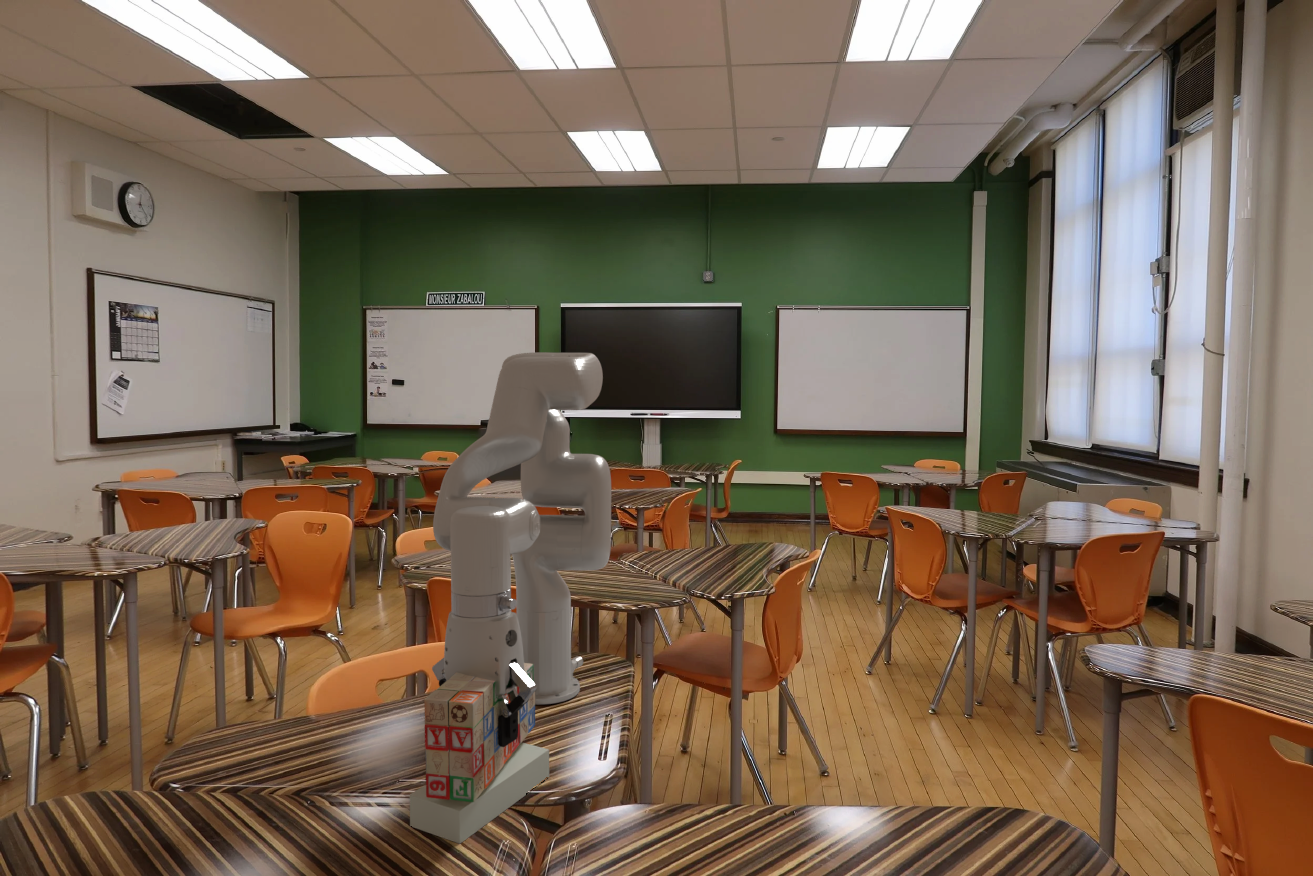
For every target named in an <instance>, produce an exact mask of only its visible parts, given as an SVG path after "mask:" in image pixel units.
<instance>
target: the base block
mask: <svg viewBox="0 0 1313 876" xmlns="http://www.w3.org/2000/svg"><path fill="white" fill-rule="evenodd" d="M546 777H549V778H550V749H549V748H544V747H542V746H541V747H540V746H536V745H534V744H530V743H529V744H528V743H525V742H522V743H520V744H519V745H518V747H517V748H516V749H515V751H514V752H513V753H512V755H511V756H510V757H509V758H508V760H507V761H506V762H505V764H504V766H503V767H502V769H501V770H500V771H499V772H498V774H497V775H496V776H495V777H494V778H493V780H492V781H491V782H490V784H489V785H488V786H487V787H486V788H485V789H484V790H483V791H482V793H481V794H480V795H479V796H478V798H477V799H476V800H475V801H474V802H466V801H457V800H451V799H449V800H446V799H437V798H428V797H426V784H424V785H423V786H421V787H420V788H418V789H416V790H415V791H413V792H412V793H410V794H409V827H411V826H412V828H415V829H416V830H420V831H423V832H425V833H429V834H431V835H434V836H438V837H441V838H442V839H445V840H448V841H451V842H453V843H457V844H462V843H463V842H464V841H465V840H468V838H470V837H471V836H473V835H474V834H475V833H476V832H478V831H479V830H481V829H482V828H484V826H486V825H487V824H489V823H491V822H492V821H493V820H494V819H495V818H496V817H498V816H500V815H501V814H502V813H504V812H505V811H507V810H508V809H509V808H510V807H511V806H513V805H514V804H516V803H517V802H519V800H521V799H522V798H524V797H525V796H526V793H527V792H528V791H530V790H531V789H532V788H533V787H534V786H536V785H537V784H539V783H540V782H541V781H542V780H544V779H545V778H546Z"/></svg>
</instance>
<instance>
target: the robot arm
mask: <svg viewBox="0 0 1313 876" xmlns="http://www.w3.org/2000/svg"><path fill="white" fill-rule="evenodd" d="M603 375H604V374H603V368H602V364H601V362H600V360H599V358H598V357H597V356H596V355H595V354H594V353H592V352H545V351H544V352H523V353H521V352H520V353H517V354H512V355H510V356H508V357H507V358H505V359H504V360H503V362H502V365H501V369H500V371H499V374H498V376H497V377H498V378H497V383H496V387H495V391H494V396H493V400H492V405H491V410H490V413H489V414H490V415H489V418H488V422H487V427H486V431H485V433H484V434H483V436H480V438H478V439H476V441H474V442H473V443H471V444H470V445H469V446H468V447H466V448H465V449H464V450H463V451H462V452H461V453H460V454H459V455H458V456H457V458H455V460H454V461H453V462H452V463H451V464H450V466H449V467H448V468H447V471H446V472H445V473H444V477H443V479H442V482H441V484H440V485H441V486H440V490H439V493H438V497H437V500H436V504H435V509H434V514H433V515H434V516H433V520H432V521H433V523H432V529H433V530H432V531H433V537H434V539H435V541H436V543H437V544H438V546H439V547H441V548H442V549H444V550H446V551H449V552H450V584H451V586H450V590H451V591H450V592H451V596H450V598H451V599H450V600H451V611H449V613H448V617H447V621H446V622H447V623H446V630H445V638H444V652H443V653H444V655H443V657H442V658H441V659H440V660H439V661H438V662H436V663H434V665H432V668H431V670H432V672H433V674H434V676H435V677H436V680H437V681H438V686H439V687H440V686H441V685H442V684H444V683H445V682H446V681H447V680H449V679H450V678H451V677H452V676H453V675H454V674H455V673H461V674H465V675H469V676H474V677H478V678H483V679H487V680H493V681H496V682H495V695H496V696H497V698H498V706H499V708H500V710H501V713H502V715H500V716H499V717H498V744H499V746H500V747H505V746H506V745H508V744H510V743H511V742H513V741H514V740H516V739H517V737H518V711H519V710H520V709H522V707H523V706H524V705H525V704H526V703H527V702H528V701H529V698H530V697H531V696H532V694H533V693H534V692H535V706H536V705H541V706H542V705H551V704H552V705H553V704H558V703H562V702H565V701H568V700H571V699H573V698H575V697H576V696H577V695H578V694H579V693H580V690H581V683H580V681H579V680H578V679H577V678H575V677H574V672H575V670H576V669H578V668H580V667H581V666H583V665H584V660H583V657H581V656H578V655H577V656H575V657H573V658H572V633H571V632H572V629H571V627H572V626H571V625H572V622H571V621H572V620H571V619H572V618H571V617H572V615H571V613H572V611H571V610H572V608H571V606H572V602H571V601H572V598H571V597H572V595H571V592H570V589H569V586H568V584H567V583H566V581H565V580H564V578H563V577H562V575H561V574H560V573H559V571H598V570H601V569H604V567H606V566H607V564H608V562H609V560H610V555H611V548H612V547H611V546H612V477H611V470H610V466H609V464H608V462H607V460H606V459H605V458H604V457H603V456H601V455H598V454H593V453H572V452H571V449H570V440H571V439H570V433H571V430H570V428H571V427H570V424H569V422H568V420H567V419H566V417H565V416H564V414H563V413H562V411H579V410H580V411H582V410H585V409H587V408H588V407H590V405H592V404H593V403H594V402H595V401H596V400H597V399H598V397H599V396H600V394H601V391H602V386H603V379H604V377H603ZM518 465H520V491H521V497H522V498H518V497H494V496H483V497H482V496H469V494H470V493H471V491H472V490H473V489H474V488H475V487H476V486H477V485H479V484H480V483H481V482H483V481H484V480H485V479H488V478H489V477H491V476H494V475H496V474H498V473H501V472H504V471H505V470H508V469H511V468H513V467H516V466H518ZM537 507H540V508H571V509H572V508H578V509H581V510H583V511H584V515H564V514H539V512H538V510H537ZM511 557H512V562H513V568H514V575H515V577H514V578H515V590H516V591H515V593H516V594H515V595H516V599H515V598H512V570H511V569H512V565H511V563H512V562H511ZM515 609H516V612H514V611H512V610H515ZM524 663H530V664H534V682H533V681H532V680H531V679H530V678H529V677H528V675H527V674H526V673H525V672H524ZM515 687H519V688H520V692H519V693H517V691H516V689H515ZM505 694H507V695H508V697H509V700H510V703H509V704H508V701H507V699H506V697H505Z"/></svg>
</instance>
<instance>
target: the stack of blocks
mask: <svg viewBox="0 0 1313 876" xmlns="http://www.w3.org/2000/svg"><path fill="white" fill-rule="evenodd" d="M524 672H525V673H526V674H527V675H528V677H529V678H530V679H531V680H532V681H533V682H534V664H530V663H524ZM495 682H496V681H493V680H487V679H483V678H478V677H474V676H469V675H465V674H461V673H455V674H454V675H453V676H452V677H451V678H450V679H449V680H447V681H446V682H445V683H444V684H442V685H441V686H439V687H438V688H437V689H435V690H433V691H432V692H431V693H430V694H428V695H427V696H426V697H425V698H424V702H423V703H424V704H423V705H424V748H425V785H426V797H428V798H437V799H446V800H449V799H451V800H457V801H466V802H474V801H475V800H476V799H477V798H478V796H479V795H480V794H481V793H482V791H483V790H484V789H485V788H486V787H487V786H488V785H489V784H490V782H491V781H492V780H493V778H494V777H495V776H496V775H497V774H498V772H499V771H500V770H501V769H502V767H503V766H504V764H505V762H506V761H507V760H508V758H509V757H510V756H511V755H512V753H513V752H514V751H515V749H516V748H517V747H518V745H519V744H520V743H523V741H524V740H525V739H526V738H527V736H528V735H529V734H530V733H531V731H532V730H533V729H534V727H536V705H535V692H534V693H533V694H532V696H531V697H530V698H529V701H528V702H527V703H526V704H525V705H524V706H523V707H522V709H520V710H519V711H518V737H517V739H516V740H514V741H513V742H511V743H510V744H508V745H506V746H505V747H500V746H499V744H498V717H499V716H500V715H502V713H501V710H500V708H499V706H498V698H497V696H496V695H495ZM515 689H516V691H517V693H519V692H520V688H519V687H515ZM505 697H506V699H507V701H508V704H509V703H510V700H509V697H508V695H507V694H505Z"/></svg>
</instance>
